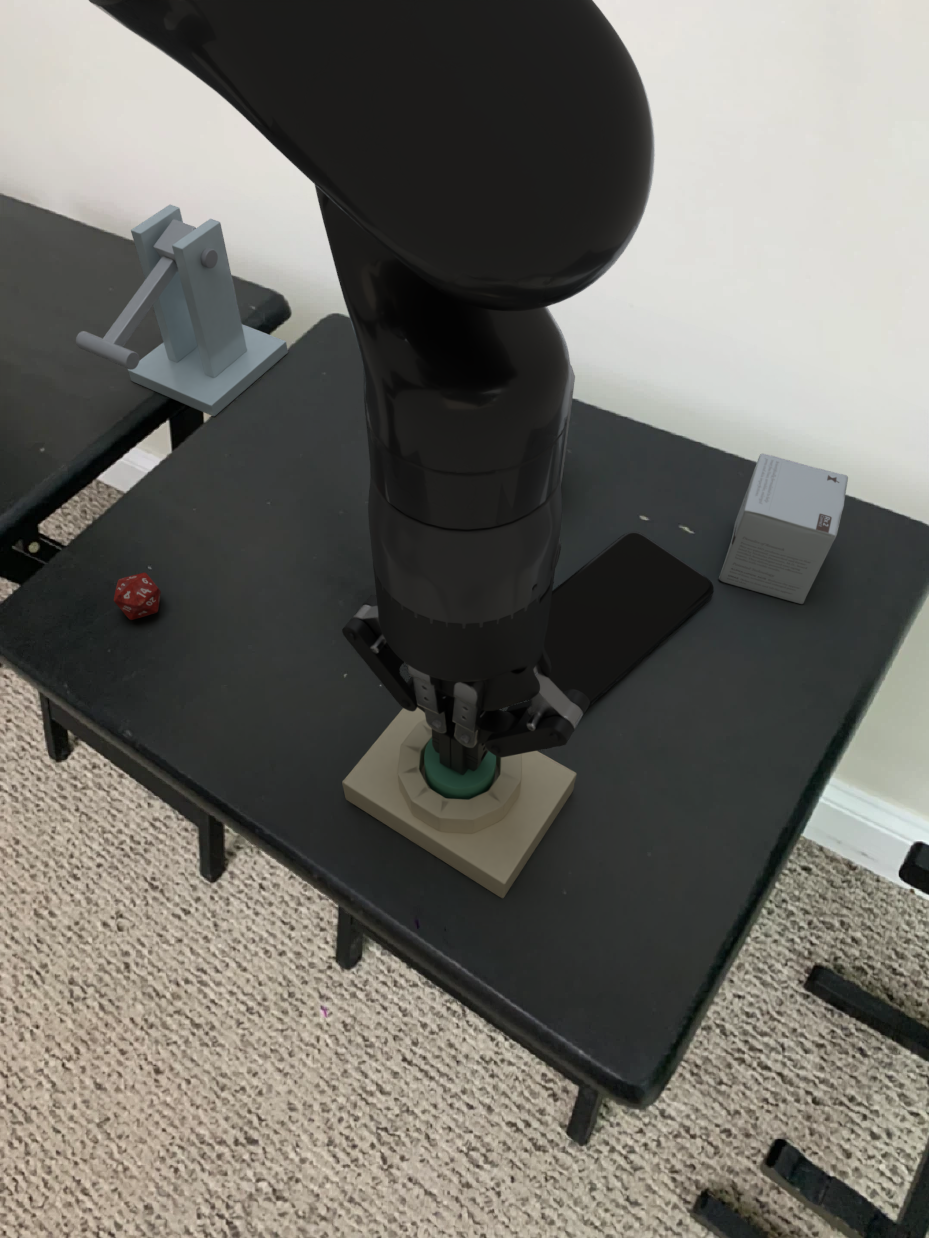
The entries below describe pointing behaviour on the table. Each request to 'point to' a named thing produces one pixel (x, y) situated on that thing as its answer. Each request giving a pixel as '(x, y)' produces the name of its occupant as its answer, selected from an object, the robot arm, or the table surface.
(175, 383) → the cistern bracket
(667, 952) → the table surface
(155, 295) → the flush lever
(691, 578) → the smartphone
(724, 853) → the table surface
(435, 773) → the flush button
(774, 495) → the white cardboard box
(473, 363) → the robot arm
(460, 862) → the green push button box
